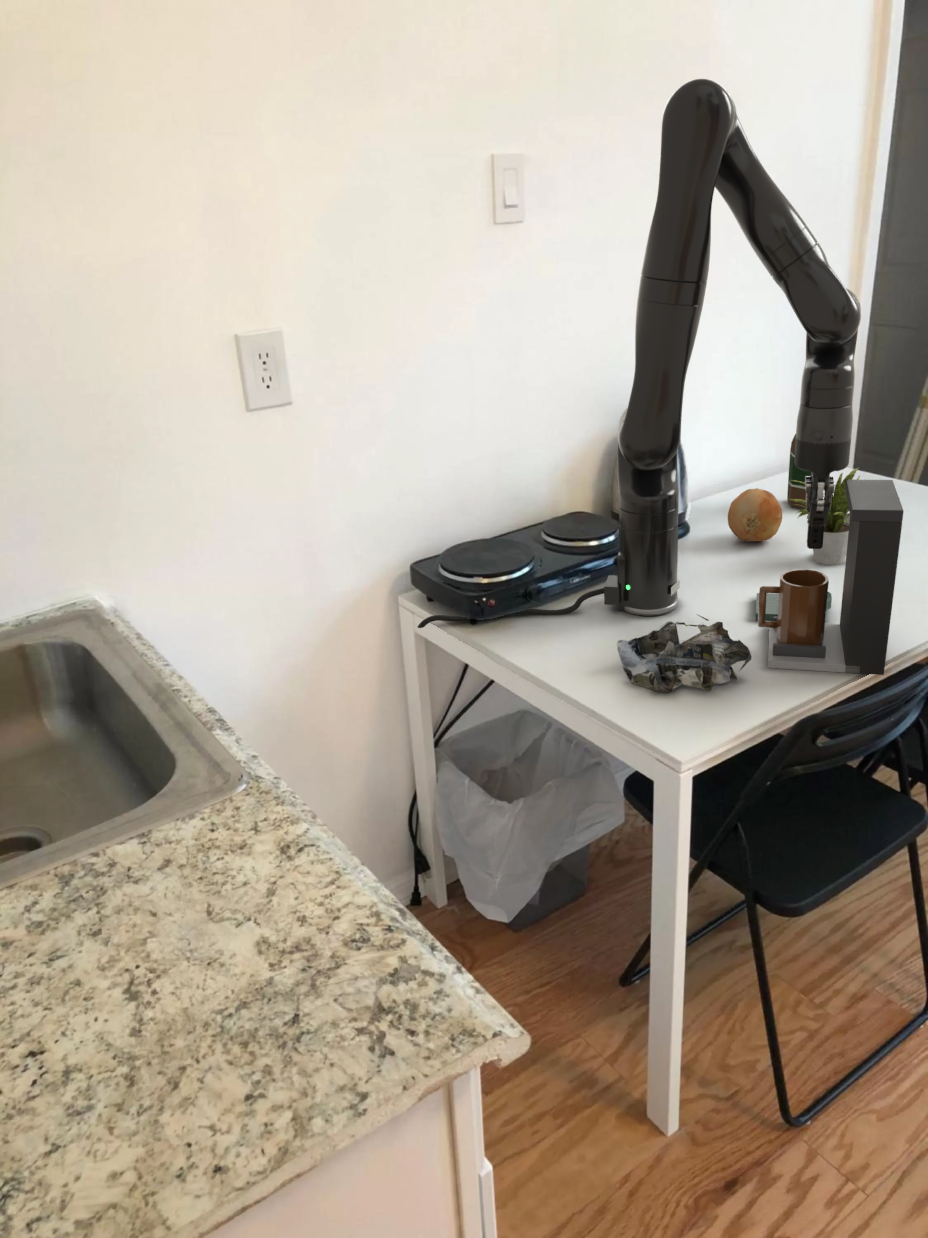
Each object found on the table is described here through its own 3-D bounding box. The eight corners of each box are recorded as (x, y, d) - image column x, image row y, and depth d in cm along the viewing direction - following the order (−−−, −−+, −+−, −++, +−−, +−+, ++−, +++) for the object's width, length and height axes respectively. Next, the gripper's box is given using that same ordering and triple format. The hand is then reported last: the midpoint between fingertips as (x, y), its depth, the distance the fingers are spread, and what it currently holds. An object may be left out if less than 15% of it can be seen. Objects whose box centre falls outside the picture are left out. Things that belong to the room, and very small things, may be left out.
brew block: (755, 620, 145) (756, 602, 144) (756, 599, 152) (757, 582, 151) (831, 624, 142) (832, 606, 141) (828, 602, 149) (830, 585, 148)
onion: (728, 550, 172) (730, 499, 168) (724, 532, 181) (726, 482, 177) (783, 550, 170) (787, 497, 166) (777, 531, 179) (780, 481, 175)
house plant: (806, 537, 175) (813, 452, 168) (883, 550, 166) (893, 461, 159) (774, 562, 165) (779, 473, 158) (853, 577, 157) (862, 483, 150)
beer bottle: (778, 502, 194) (785, 386, 184) (810, 496, 196) (819, 380, 186) (801, 512, 187) (810, 392, 177) (834, 506, 189) (845, 386, 179)
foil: (664, 624, 139) (732, 598, 126) (689, 692, 138) (760, 673, 125) (603, 644, 134) (668, 619, 121) (629, 715, 133) (697, 698, 120)
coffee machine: (768, 668, 131) (778, 508, 122) (768, 628, 143) (777, 479, 133) (883, 675, 127) (903, 510, 117) (875, 633, 138) (892, 479, 128)
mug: (821, 632, 137) (827, 570, 133) (823, 652, 132) (829, 587, 127) (757, 629, 140) (760, 567, 136) (756, 649, 134) (760, 585, 130)
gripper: (854, 446, 128) (843, 564, 135) (848, 422, 139) (838, 532, 146) (796, 446, 130) (788, 562, 137) (795, 423, 141) (787, 531, 149)
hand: (814, 546), depth 142 cm, fingers closed
